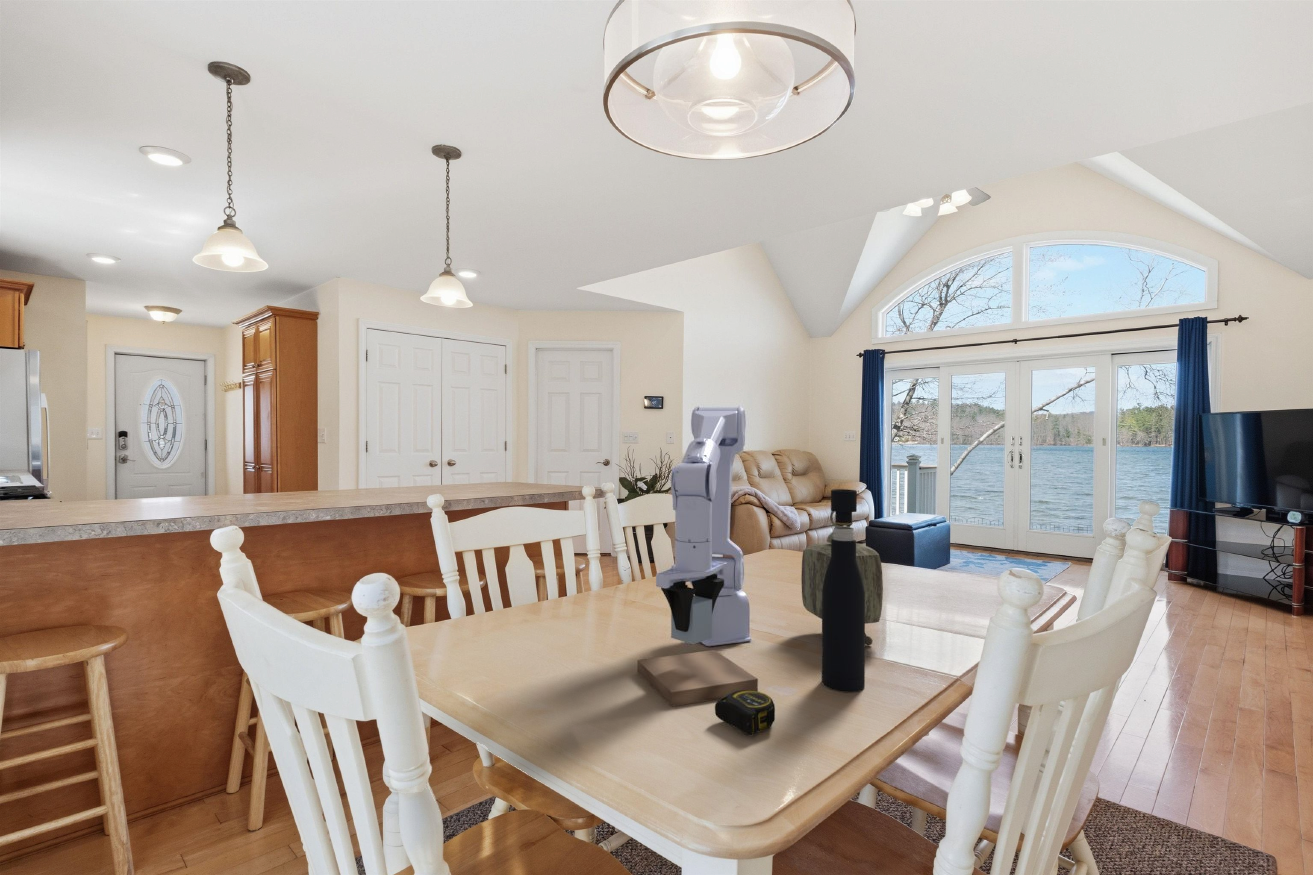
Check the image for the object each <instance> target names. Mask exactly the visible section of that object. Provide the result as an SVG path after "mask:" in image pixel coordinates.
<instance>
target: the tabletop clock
mask: <svg viewBox="0 0 1313 875" xmlns="http://www.w3.org/2000/svg"><path fill="white" fill-rule="evenodd" d="M834 513H835V512H834V511H831V510H830V513H829V514H830V515H829V519H830V522H831V524H832V526H833V527H851V526H852V525H850V526H841V525H836V524H835V521H834V518H833V517H834V515H835V514H834ZM833 534H834V532H833V531H832V532H831V533H829V535H828V536H827V538H826V542H820V543H812V544H810V545H809V546H807V547H806V548H804V549H803V552H802V557H801V577H800V580H801V598H802V600H801V601H802V605H803V607H804V608H805V610H807V612H809V613H811V614H813V615H814V616H815V617H817V618H819V619H821V620H822V588H823V582H824V577H825V573H826V570H827V567H828V564H829V561H830V559H831V540H832V539H834V537H833ZM856 559H857V562H858V565H859V568H860V571H861V574H862V579H863V583H864V590H865V625H867V624H876V623H879V622H880V619H881V616H882V611H883V599H884V598H883V596H884V595H883V593H884V584H883V583H884V582H883V568H882V566H883V565H882V561H881V557H880V554H879V553H878V552H877V551H876V550H875V549H873V548H871V547H869V546H867V545H864V544H862V543H859V542H858V543H857V542H856ZM872 644H873V638H872V637H871V636H869V635H867V634H866V632H865V646H871V645H872Z"/></svg>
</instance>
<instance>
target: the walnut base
mask: <svg viewBox="0 0 1313 875" xmlns="http://www.w3.org/2000/svg"><path fill="white" fill-rule="evenodd" d="M636 665H637V674H638V675H639V676H641V678H642V679H643V680H644V681H646V683H647V684H648V685H649V686H650V687H651V688H653V690H654V691H655V692H657V693H658V695H659V696H660V697H661V698H662V699H663V700H664V701H665V702H666V703H667V704H669V705H670V706H671V707H676V706H681V705H683V706H684V705H689V704H693V703H701V702H707V701H712V700H720V699H722V698H724V697H726V696H727V695H729V694H731V693H732V692H735V691H740V690H753V691H758V690H759V688H758V687H759V685H758V684H759V680H758V679H759V678H757V677H755V676H754V675H753V674H752V673H750V672H748V671H747V670H746V669H744V668H742V667H741V666H739V665H738V664H736V663H735V662H733V661H732V660H730V659H729V658H727V657H726V656H725V655H723V654H722V653H720V652H718V651H717V650H716V649H711V650H705V651H702V650H701V651H695V652H689V653H681V654H673V655H666V656H659V657H658V656H657V657H651V658H650V657H649V658H643V659H637V664H636ZM758 692H759V691H758Z"/></svg>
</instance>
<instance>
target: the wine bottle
mask: <svg viewBox="0 0 1313 875" xmlns="http://www.w3.org/2000/svg"><path fill="white" fill-rule="evenodd" d="M857 492H858V491H857V490H856V489H848V488H847V489H843V488H841V489H840V488H837V489H834V488H833V489H831V490H830V512H831V511H834V513H835V514H834V516H835V519H834V520H835V521H834V522H835V524H836V525H841V526H850V525H851V526H853V524H854V523H853V513H856V512H858V510H857V509H858V508H857V507H858V506H857V505H858V503H857V502H858V500H857V498H858V496H857ZM851 526H850V527H835V526H833V529H832V532H834V534H833V537H834V539H832V540H831V559H830V561H829V564H828V567H827V570H826V573H825V577H824V582H823V588H822V619H821V683H822V685H823V686H825V687H826V688H828V689H830V690H834V691H837V692H843V693H857V692H860V691H862V690H864V689H865V684H866V683H865V679H866V678H865V676H866V674H865V673H866V672H865V671H866V669H865V668H866V667H865V666H866V648H865V647H866V644H865V633H866V624H865V590H864V583H863V579H862V574H861V571H860V568H859V565H858V562H857V559H856V543H857V541H856V540H855V538H856V537H855V532H856V531H855V529H854V527H851Z"/></svg>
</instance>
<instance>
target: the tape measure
mask: <svg viewBox="0 0 1313 875" xmlns="http://www.w3.org/2000/svg"><path fill="white" fill-rule="evenodd" d="M714 713H715V716H716V717H717V718H718V719H719V720H721V721H722V722H723V723H726V724H728V725H729V726H732V727H733V728H735V729H737V730H738V731H741V732H743V733H744V734H745V735H748V736H754V735H755V734H757V732H758V733H759V732H764V731H767V730H769V729H771V727H772V725H773V723H774V722H775V719H776V716H775V715H776V714H775V713H776V707H775V702H774V700H773V698H771V696H770V695H768V694H766V693H764V692H762V691H753V690H740V691H735V692H732V693H731V694H729V695H727V696H726V697H724V698H720V699H717V701H716V702H715V705H714Z"/></svg>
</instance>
